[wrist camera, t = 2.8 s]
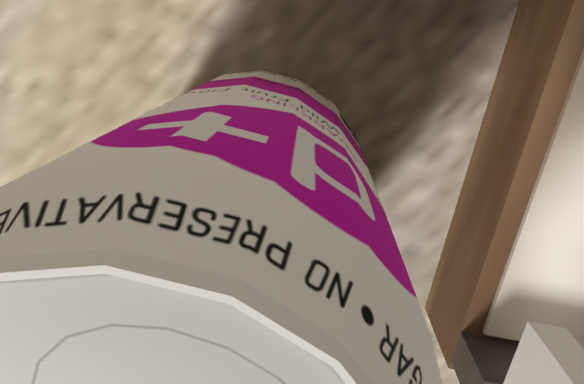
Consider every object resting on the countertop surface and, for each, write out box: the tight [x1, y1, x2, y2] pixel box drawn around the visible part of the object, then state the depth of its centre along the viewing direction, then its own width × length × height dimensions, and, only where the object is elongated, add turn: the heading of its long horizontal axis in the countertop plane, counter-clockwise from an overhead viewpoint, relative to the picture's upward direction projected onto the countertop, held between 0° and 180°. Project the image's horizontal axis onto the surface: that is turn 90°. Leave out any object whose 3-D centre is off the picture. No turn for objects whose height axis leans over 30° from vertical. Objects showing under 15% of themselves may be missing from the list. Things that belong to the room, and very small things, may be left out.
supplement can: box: [0, 70, 442, 384], centre depth 13 cm, size 8×8×15 cm
